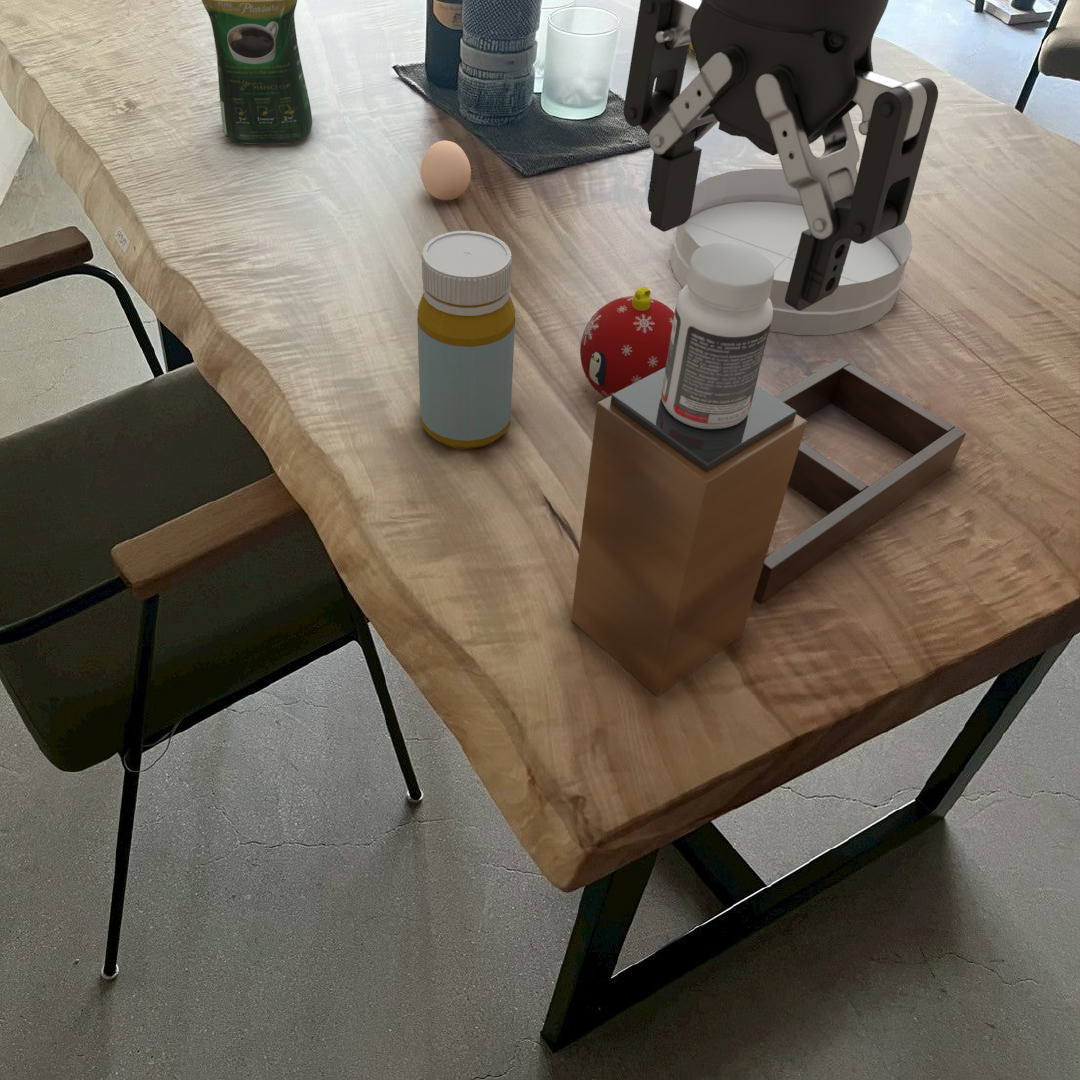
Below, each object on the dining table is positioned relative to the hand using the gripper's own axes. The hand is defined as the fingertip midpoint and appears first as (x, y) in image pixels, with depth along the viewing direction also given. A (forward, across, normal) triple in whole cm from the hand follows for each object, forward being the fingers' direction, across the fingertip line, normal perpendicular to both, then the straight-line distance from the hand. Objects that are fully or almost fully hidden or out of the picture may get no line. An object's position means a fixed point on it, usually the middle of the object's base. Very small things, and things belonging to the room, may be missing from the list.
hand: (734, 262), depth 50 cm
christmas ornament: (+27, -19, +16) cm, 37 cm away
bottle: (+27, -24, +3) cm, 36 cm away
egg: (+27, -54, +24) cm, 65 cm away
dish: (+27, -24, +42) cm, 55 cm away
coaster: (+9, 0, 0) cm, 9 cm away
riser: (+27, 0, 0) cm, 27 cm away
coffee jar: (+27, -77, +17) cm, 83 cm away
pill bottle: (+8, 0, 0) cm, 9 cm away
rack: (+27, -3, +18) cm, 33 cm away
